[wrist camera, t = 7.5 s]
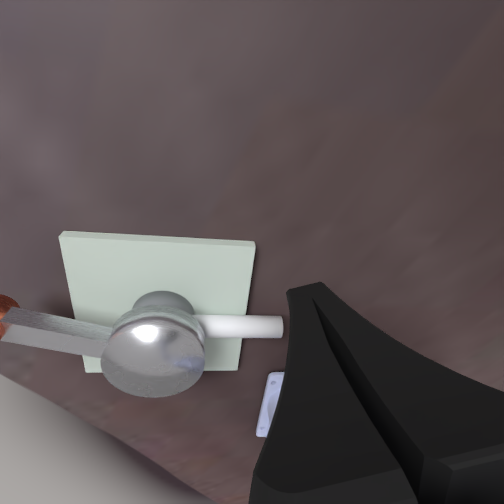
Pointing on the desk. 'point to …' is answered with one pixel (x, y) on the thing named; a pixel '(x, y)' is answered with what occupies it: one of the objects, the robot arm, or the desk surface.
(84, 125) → the desk surface
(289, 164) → the desk surface
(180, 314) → the key lever
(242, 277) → the base
